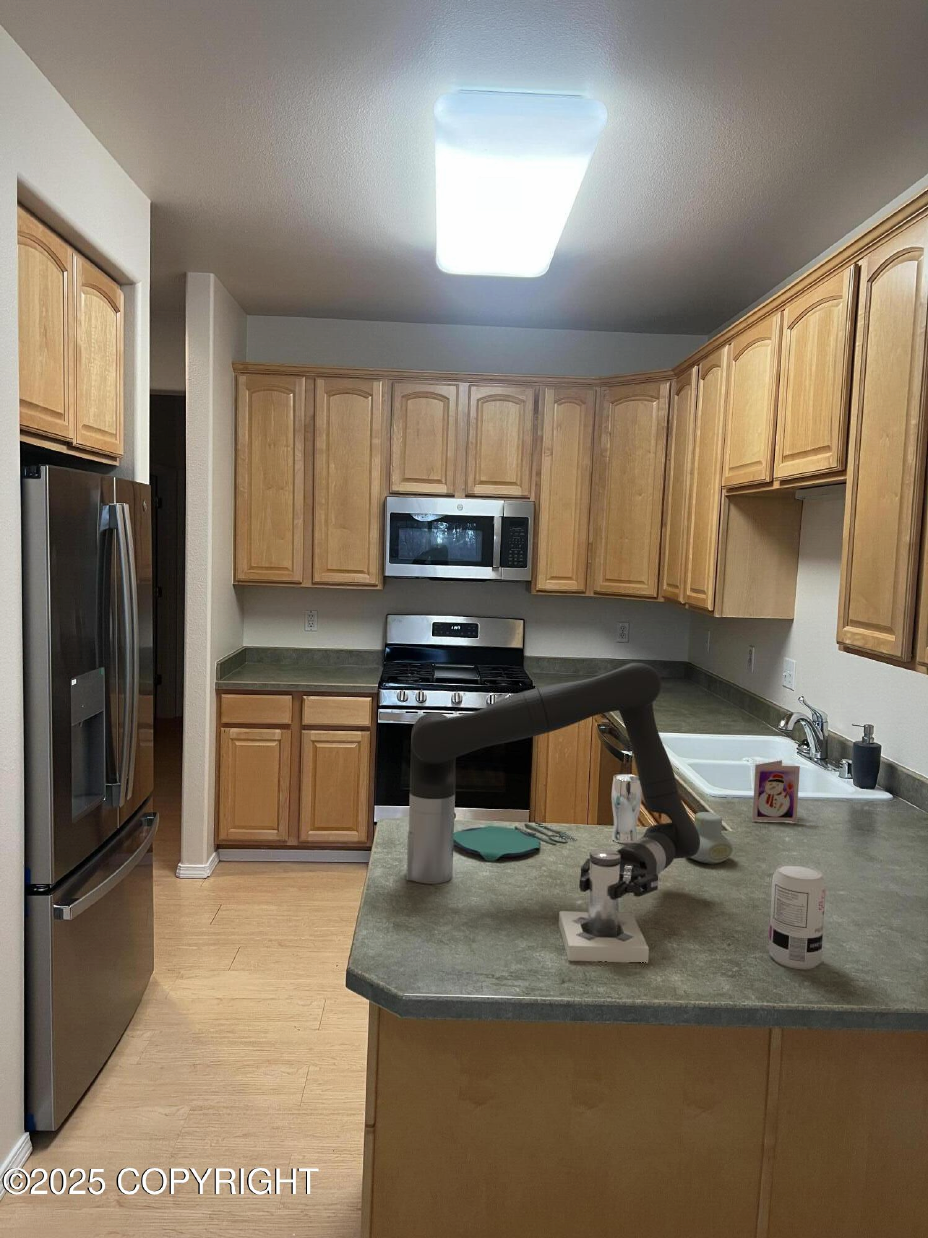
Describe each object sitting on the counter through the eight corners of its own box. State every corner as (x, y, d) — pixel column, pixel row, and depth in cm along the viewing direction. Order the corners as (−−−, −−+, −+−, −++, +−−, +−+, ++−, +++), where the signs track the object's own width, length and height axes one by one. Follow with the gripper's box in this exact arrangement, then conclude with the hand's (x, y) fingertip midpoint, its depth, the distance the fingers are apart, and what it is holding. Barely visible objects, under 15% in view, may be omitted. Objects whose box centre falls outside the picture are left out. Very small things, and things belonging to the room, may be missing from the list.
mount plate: (568, 960, 141) (568, 945, 140) (558, 925, 155) (559, 911, 154) (648, 963, 141) (648, 948, 140) (631, 927, 155) (632, 913, 154)
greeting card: (753, 823, 222) (756, 765, 221) (743, 815, 229) (746, 759, 228) (797, 824, 222) (801, 767, 221) (786, 816, 229) (789, 760, 228)
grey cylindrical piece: (589, 940, 145) (592, 858, 144) (584, 927, 150) (587, 848, 149) (620, 941, 145) (623, 859, 144) (614, 928, 150) (617, 849, 149)
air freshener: (712, 851, 199) (714, 808, 198) (738, 862, 191) (740, 818, 191) (674, 856, 194) (676, 812, 193) (699, 868, 186) (701, 823, 186)
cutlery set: (434, 842, 199) (435, 832, 199) (533, 825, 217) (534, 816, 216) (487, 869, 183) (487, 858, 183) (589, 848, 201) (590, 838, 200)
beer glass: (639, 846, 200) (642, 782, 200) (609, 843, 202) (611, 779, 201) (639, 837, 207) (642, 775, 206) (610, 834, 209) (612, 773, 208)
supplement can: (760, 949, 147) (764, 863, 146) (806, 949, 148) (811, 863, 147) (781, 971, 139) (786, 880, 138) (830, 971, 140) (836, 880, 139)
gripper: (603, 834, 163) (560, 858, 149) (676, 851, 154) (637, 878, 140) (602, 873, 163) (558, 901, 149) (675, 892, 155) (636, 923, 141)
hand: (597, 890), depth 145 cm, fingers closed on grey cylindrical piece, 5 cm apart
